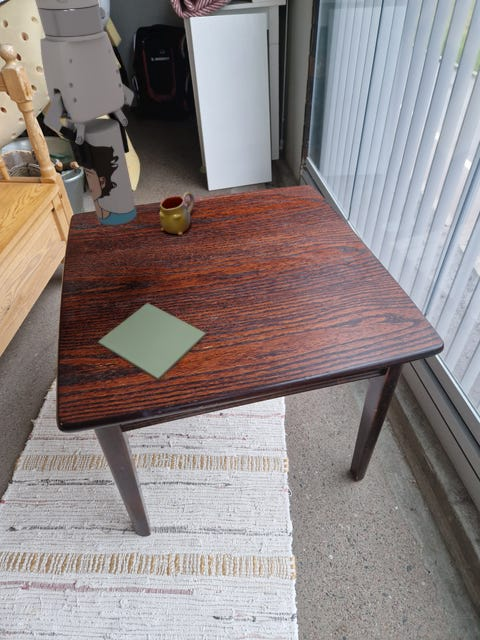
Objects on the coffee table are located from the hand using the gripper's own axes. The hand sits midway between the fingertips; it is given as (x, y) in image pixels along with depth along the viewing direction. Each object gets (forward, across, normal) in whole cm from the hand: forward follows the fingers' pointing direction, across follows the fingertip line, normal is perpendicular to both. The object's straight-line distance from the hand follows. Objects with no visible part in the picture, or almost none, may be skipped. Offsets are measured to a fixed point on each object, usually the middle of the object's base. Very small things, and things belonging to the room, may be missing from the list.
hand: (104, 157), depth 67 cm
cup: (+10, 0, 0) cm, 10 cm away
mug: (+25, -23, -6) cm, 35 cm away
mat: (+25, +9, +14) cm, 30 cm away
